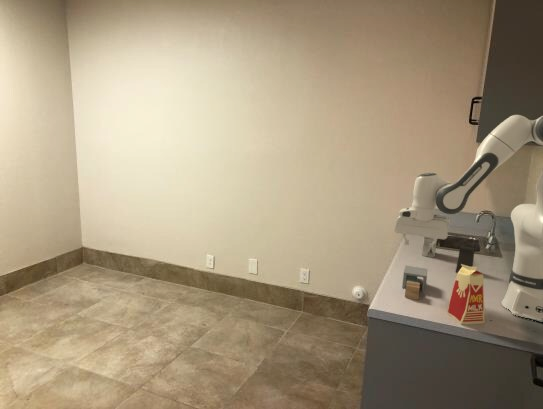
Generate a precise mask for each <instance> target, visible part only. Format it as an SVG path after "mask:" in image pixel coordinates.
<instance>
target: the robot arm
mask: <svg viewBox="0 0 543 409" xmlns="http://www.w3.org/2000/svg"><path fill="white" fill-rule="evenodd" d="M527 143H531V144H535V145H536V146H541V147H543V115H541V116H540V117H538V118H537V119H533V120H532V119H528V118H527V117H526V116H523V115H521V114H513V115H510V116H509V117H508V118H506V119H504V120H503V121H502V122H500V123H499V125H497V126H496V127H495V128H493V130H491V132H490V133H488V135H487V136H486V137H485V138H483V140H482V142H481V143H480V144H479V146H478V147H477V149H476V153H475V158H474V161H473V163H472V164H471V166H470V167H469V168H468V169H467V170H466V171H465V172H464V173H463V174H462V176H460V177H459V179H458V180H457V181H456V182H455V183H453V182H451V181H448V180H446V179H444V178H443V177H441V176H439V175H438V174H437V173H433V172H425V173H422V174H419V175H418V176H416V178H415V181H414V184H413V186H414V187H413V192H412V197H413V200H412V203H411V206H410V207H404V208H401V209H400V210H399V212H398V214H399V216H397V219H396V221H395V224H394V232H395V233H396V234H402V238H403V240H404V245H406V246H409V243H410V240H409V239H408V238H407V235H410V236H417V237H421V238H422V237H423V238H424V237H430V238H434V239H433V243H430V245H429V248H432V249H433V245H434V244H435V243H436V242H438V239H439V240H446V239H447V238H448V234H449V233H448V232H449V230H448V228H449V227H450V225H451V220H450V218H449V217H447V215H454V214H455V215H456V214H457V213H460V212H461V211H463V209H464V208H465V207H466V204H467V202H468V200H469V197H470V196H471V194H472V193H473V192H474V191H475V190H476V189H477V188H478V186H479V185H480V184H481V183H482V182H483V181H484V180H485V179H486V178H487V177H488V176H490V174H492V172H493V171H495V170H496V169H498V168H499V167H500V166H501V165H503V164H504V163H505V162H506V161H508V160H509V159H510V158H512V156H514V154H515V153H516V152H517V151H519V149H520V148H521V147H523V146H524V145H525V144H527ZM535 192H536V202H535V203H521V204H518V205H516V206H515V207H514V208H513V209H512V211H511V213H510V220H511V223H512V226H513V231H514V232H513V233H514V242H515V244H514V245H515V252H514V257H513V258H514V259H513V266H512V268H511V270H510V272H509V278H508V287H507V291H506V293H505V295H504V298H503V299H502V301H501V305H502V306H503V308H505V309H506V308H507V309H506V310H508V309H509V310H510V311H511V312H512V313H511V312H510V311H509V310H508V311H509V312H510V313H511V314H512V315H513V314H514V315H513V316H515V315H516V316H515V317H518V316H521V317H525V318H532V319H537V320H542V319H541V318H543V169H542V170H541V172H540V175H539V177H538V180H537V182H536V183H535ZM436 207H437V208H438V210H439V211H441V213H444V214H446V215H439V214H436V213H435V212H436ZM436 244H437V243H436ZM521 317H520V318H521ZM525 318H524V319H525Z"/></svg>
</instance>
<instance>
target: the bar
mask: <svg viewBox="0 0 543 409" xmlns="http://www.w3.org/2000/svg"><path fill="white" fill-rule="evenodd" d="M407 281H411V282H417V283H418V277H417V276H411V275H407Z"/></svg>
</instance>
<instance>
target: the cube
mask: <svg viewBox="0 0 543 409" xmlns="http://www.w3.org/2000/svg"><path fill="white" fill-rule="evenodd" d="M420 285H421V283H420V282H418V281H417V282H411V281H407V282H406V287H405V288H404V298H408V299H412V300H419V294H420V288H421V286H420Z"/></svg>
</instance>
